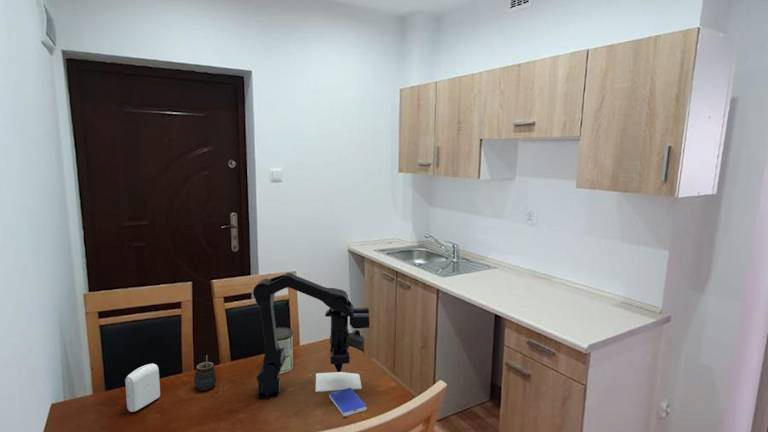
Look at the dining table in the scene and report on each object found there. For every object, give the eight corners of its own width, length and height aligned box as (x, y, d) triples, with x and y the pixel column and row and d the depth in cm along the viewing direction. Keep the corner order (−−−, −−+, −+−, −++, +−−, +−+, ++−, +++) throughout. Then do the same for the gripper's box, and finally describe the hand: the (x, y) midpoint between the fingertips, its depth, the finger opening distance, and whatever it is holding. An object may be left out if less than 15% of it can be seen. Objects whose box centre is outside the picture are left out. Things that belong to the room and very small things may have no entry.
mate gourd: (194, 394, 141) (193, 366, 140) (194, 383, 148) (193, 356, 147) (217, 390, 144) (216, 362, 143) (216, 379, 151) (215, 353, 150)
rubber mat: (315, 391, 144) (315, 391, 144) (316, 374, 156) (316, 373, 156) (361, 389, 146) (361, 388, 146) (358, 371, 159) (358, 371, 159)
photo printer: (134, 413, 130) (132, 375, 128) (124, 410, 131) (122, 373, 130) (162, 396, 139) (160, 361, 138) (153, 394, 141) (151, 359, 139)
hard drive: (329, 392, 141) (343, 412, 130) (351, 387, 144) (366, 405, 134) (329, 397, 141) (343, 416, 130) (351, 391, 145) (366, 410, 134)
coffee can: (261, 366, 161) (260, 331, 160) (284, 358, 168) (284, 325, 167) (273, 376, 154) (273, 340, 152) (298, 368, 161) (298, 333, 159)
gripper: (365, 338, 133) (364, 384, 135) (360, 317, 152) (360, 358, 154) (330, 339, 132) (330, 386, 134) (329, 318, 150) (329, 359, 152)
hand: (339, 371), depth 143 cm, fingers closed
